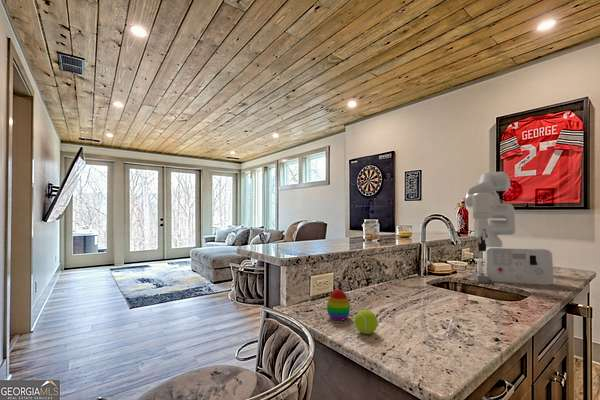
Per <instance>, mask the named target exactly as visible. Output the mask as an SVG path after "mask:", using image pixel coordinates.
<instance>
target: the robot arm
mask: <svg viewBox="0 0 600 400" xmlns="http://www.w3.org/2000/svg"><path fill="white" fill-rule="evenodd" d="M510 188H511V180H510V178H509V175H508V174H507V173H506V172H505V171H495V172H494V171H493V172H484V173H482V174H481V175H480V176H479V179H478V180H477V183H476V185H474V186H472V187H470V188H469V189H468V190H467V191H466V193H465V197H464V203H465V205H466V206H467V207H468V208H472V219H473V221H474V222H473V223H474V224H473V237H475V238H477V241H478V243H477V246H478V249H477V250H478V251H479V252H484V251H486V248H487V247H503V240H502V239H501V238H500V237H499V236H514V235H515V233H516V216H515V213H516V212H515V208H514V206H513V204H511V203H500V195H499V194H498V193H497V192H503V191H504V192H505V191H508V190H509V189H510ZM490 219H491V220H490ZM492 219H495V220H492ZM498 219H499V220H498ZM500 219H501V220H500ZM502 219H504V220H502ZM482 267H483V268H484V269H485V264H484V265H482Z"/></svg>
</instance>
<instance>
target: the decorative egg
mask: <svg viewBox="0 0 600 400" xmlns="http://www.w3.org/2000/svg"><path fill="white" fill-rule="evenodd" d="M350 303H351V302H350V300H349V298H348V295H347V294H346V293H345V292H344V291H343V290H341V289H338V288H337V289H335V290H333V291H332V292H331V293H330V294H329V297H328V298H327V304H326V307H327V308H326V309H327V312H328V316H329V317H330V319H332V320H334V319H336V320H335V321H343V320H342V319H345V320H346V319H347V318H348V317H349V314H350V312H351V306H350Z"/></svg>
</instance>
